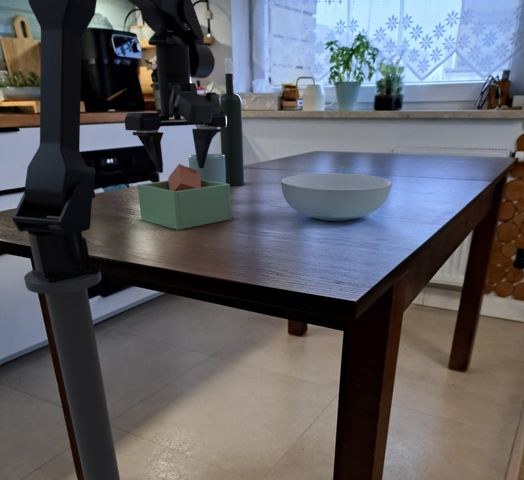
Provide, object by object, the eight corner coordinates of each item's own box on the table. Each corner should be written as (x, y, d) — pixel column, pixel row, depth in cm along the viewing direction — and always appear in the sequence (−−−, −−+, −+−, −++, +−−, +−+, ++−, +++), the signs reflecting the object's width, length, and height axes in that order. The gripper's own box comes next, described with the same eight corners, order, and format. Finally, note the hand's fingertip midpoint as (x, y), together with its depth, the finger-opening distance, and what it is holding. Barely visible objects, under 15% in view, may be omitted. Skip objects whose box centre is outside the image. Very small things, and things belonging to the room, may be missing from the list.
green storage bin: (177, 230, 93) (174, 192, 90) (141, 219, 101) (137, 184, 99) (231, 219, 101) (230, 184, 98) (193, 210, 109) (191, 177, 106)
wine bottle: (240, 186, 138) (236, 57, 124) (220, 185, 139) (213, 57, 126) (246, 182, 143) (242, 58, 129) (226, 182, 144) (220, 59, 131)
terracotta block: (180, 182, 97) (179, 163, 99) (169, 196, 100) (168, 177, 102) (201, 190, 100) (199, 171, 101) (190, 203, 103) (188, 184, 105)
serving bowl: (346, 234, 88) (349, 192, 85) (259, 217, 101) (258, 181, 98) (408, 215, 102) (412, 178, 99) (324, 202, 115) (325, 170, 112)
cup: (213, 198, 122) (211, 153, 117) (233, 202, 116) (231, 155, 112) (185, 202, 117) (181, 155, 113) (204, 207, 112) (201, 158, 107)
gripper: (152, 74, 80) (162, 179, 86) (244, 76, 91) (246, 169, 98) (117, 76, 87) (129, 173, 94) (206, 78, 98) (211, 165, 105)
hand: (181, 170), depth 97 cm, fingers open, 9 cm apart
